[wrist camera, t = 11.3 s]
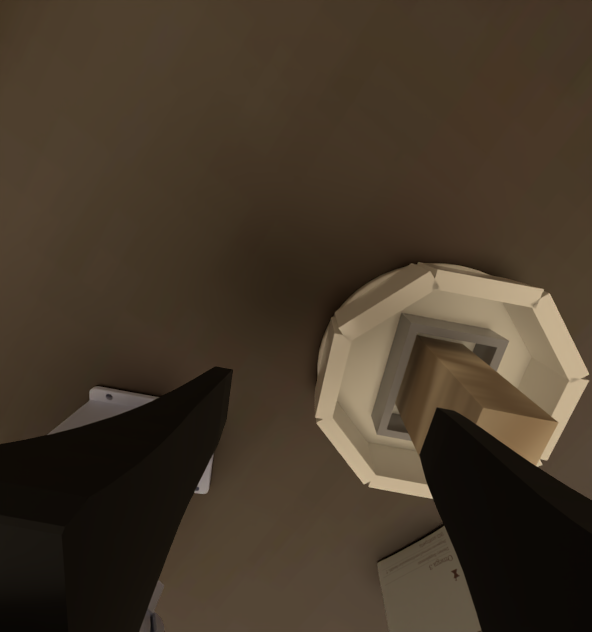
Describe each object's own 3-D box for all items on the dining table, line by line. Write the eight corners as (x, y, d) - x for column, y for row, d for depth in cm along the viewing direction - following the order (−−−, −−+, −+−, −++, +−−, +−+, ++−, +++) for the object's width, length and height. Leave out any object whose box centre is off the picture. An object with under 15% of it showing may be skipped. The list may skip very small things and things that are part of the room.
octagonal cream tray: (300, 435, 23) (298, 476, 20) (342, 243, 19) (349, 248, 15) (487, 469, 24) (520, 517, 20) (570, 285, 19) (634, 302, 15)
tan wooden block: (394, 402, 21) (441, 505, 13) (416, 334, 20) (483, 407, 12) (437, 410, 21) (508, 518, 13) (462, 344, 20) (558, 422, 12)
